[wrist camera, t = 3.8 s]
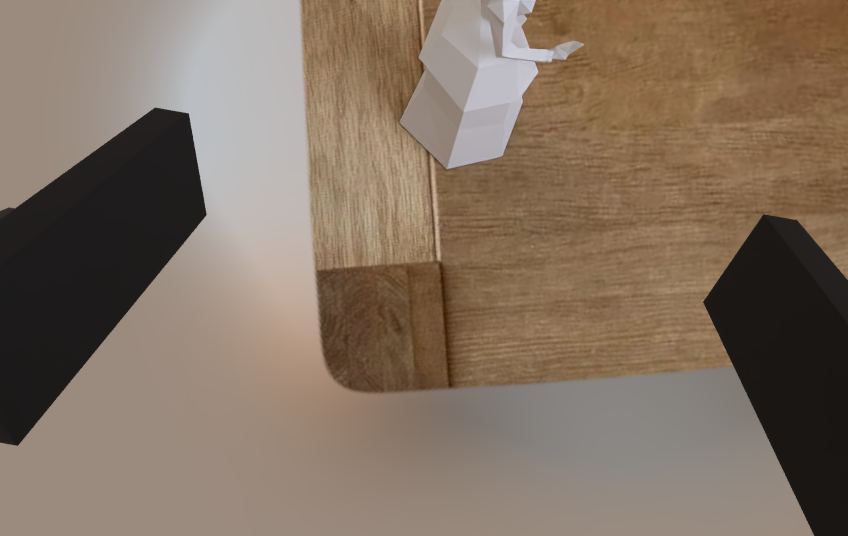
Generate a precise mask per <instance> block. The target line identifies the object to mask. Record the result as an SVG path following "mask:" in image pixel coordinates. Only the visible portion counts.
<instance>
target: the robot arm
mask: <svg viewBox="0 0 848 536" xmlns="http://www.w3.org/2000/svg"><path fill="white" fill-rule="evenodd" d="M205 216H206V209H205V203H204V197H203V192H202V186H201V180H200V175H199V169H198V163H197V158H196V152H195V147H194V141H193V135H192V129H191V124H190V118H189V114H188V113H183V112H177V111H171V110H165V109H160V108H154V109H153V110H151V111H150V112H149V113H147V114H146V115H144V116H143V117H142V118H140V119H139V120H137V121H136V122H135V123H133V124H132V125H130V126H129V127H128V128H126V129H125V130H124V131H122V132H121V133H119V134H118V135H117V136H115V137H114V138H112V139H111V140H110V141H108V142H107V143H105V144H104V145H103V146H101V147H100V148H99V149H97V150H96V151H94V152H93V153H92V154H90V155H89V156H87V157H86V158H85V159H83V160H82V161H80V162H79V163H78V164H76V165H75V166H73V167H72V168H71V169H69V170H68V171H67V172H65V173H64V174H62V175H61V176H60V177H58V178H57V179H55V180H54V181H53V182H52V183H50V184H49V185H47V186H46V187H45V188H43V189H42V190H40V191H39V192H38V193H36V194H35V195H33V196H32V197H30V198H29V199H28V200H26V201H25V202H24V203H22V204H21V205H19V206H18V207H17V208H15V209H14V208H7V209H5V210H2V211H0V443H6V444H12V445H17V446H18V445H19V444H20V442H21V441H22V440H23V439H24V438H25V436H26V435H27V434H28V433H29V431H30V430H31V429H32V428H33V427H34V425H35V424H36V423H37V422H38V420H39V419H40V418H41V417H42V416H43V414H44V413H45V412H46V411H47V409H48V408H49V407H50V406H51V405H52V403H53V402H54V401H55V400H56V398H57V397H58V396H59V395H60V394H61V392H62V391H63V390H64V389H65V387H66V386H67V385H68V384H69V383H70V381H71V380H72V379H73V378H74V376H75V375H76V374H77V373H78V372H79V370H80V369H81V368H82V367H83V365H84V364H85V363H86V362H87V361H88V359H89V358H90V357H91V356H92V354H93V353H94V352H95V351H96V350H97V348H98V347H99V346H100V345H101V343H102V342H103V341H104V340H105V339H106V337H107V336H108V335H109V334H110V332H111V331H112V330H113V329H114V328H115V326H116V325H117V324H118V323H119V321H120V320H121V319H122V318H123V317H124V315H125V314H126V313H127V312H128V310H129V309H130V308H131V307H132V306H133V304H134V303H135V302H136V301H137V299H138V298H139V297H140V296H141V294H142V293H143V292H144V291H145V290H146V288H147V287H148V286H149V285H150V284H151V282H152V281H153V280H154V279H155V277H156V276H157V275H158V274H159V273H160V271H161V270H162V269H163V268H164V266H165V265H166V264H167V263H168V262H169V260H170V259H171V258H172V257H173V255H174V254H175V253H176V252H177V251H178V249H179V248H180V247H181V246H182V244H183V243H184V242H185V241H186V240H187V238H188V237H189V236H190V235H191V233H192V232H193V231H194V230H195V228H196V227H197V226H198V225H199V224H200V222H201V221H202V220H203V219H204V217H205ZM703 303H704V305H705V307H706V309H707V311H708V313H709V315H710V317H711V319H712V322H713V324H714V326H715V328H716V330H717V332H718V334H719V336H720V338H721V341H722V343H723V345H724V347H725V349H726V351H727V353H728V355H729V357H730V359H731V362H732V364H733V366H734V368H735V370H736V372H737V374H738V376H739V378H740V380H741V383H742V385H743V387H744V389H745V391H746V393H747V395H748V397H749V399H750V402H751V404H752V406H753V408H754V410H755V412H756V414H757V416H758V418H759V420H760V423H761V424H762V427H763V429H764V431H765V433H766V435H767V437H768V439H769V441H770V444H771V446H772V448H773V450H774V452H775V454H776V456H777V458H778V460H779V463H780V465H781V467H782V469H783V471H784V473H785V475H786V477H787V479H788V481H789V483H790V486H791V488H792V490H793V492H794V494H795V496H796V498H797V500H798V502H799V505H800V506H801V509H802V511H803V513H804V515H805V517H806V519H807V521H808V524H809V525H810V528H811V530H812V532H813V534H814V536H848V280H847V279H846V278H845V276H844V275H843V274H842V273H841V272H840V270H839V269H838V268H837V267H836V266H835V265H834V263H833V262H832V261H831V260H830V259H829V257H828V256H827V255H826V254H825V253H824V252H823V250H822V249H821V248H820V247H819V246H818V244H817V243H816V242H815V241H814V240H813V239H812V237H811V236H810V235H809V234H808V233H807V231H806V230H805V229H804V228H803V227H802V226H801V224H800V223H799V222H798V221H797V220H792V219H787V218H781V217H775V216H769V215H763V216H762V217H761V219H760V220H759V222H758V223H757V225H756V226H755V228H754V229H753V231H752V232H751V233H750V235H749V236H748V238H747V239H746V241H745V242H744V244H743V245H742V246H741V248H740V249H739V251H738V252H737V254H736V255H735V257H734V258H733V260H732V261H731V262H730V264H729V265H728V267H727V268H726V270H725V271H724V273H723V274H722V275H721V277H720V278H719V280H718V281H717V283H716V284H715V286H714V287H713V289H712V290H711V291H710V293H709V294H708V296H707V297H706V299H705V300H704V302H703Z"/></svg>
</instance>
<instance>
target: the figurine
mask: <svg viewBox="0 0 848 536" xmlns="http://www.w3.org/2000/svg"><path fill="white" fill-rule="evenodd" d="M535 1H536V0H442V1H441V3H440V5H439V8H438V10H437V13H436V15H435V18H434V20H433V23H432V25H431V28H430V30H429V33H428V35H427V38H426V40H425V43H424V45H423V48H422V50H421V53H420V55H419V59H420V60H421V61H422V62H423V63H424V65H425V66H426V68H425V70H424V73H423V75H422V77H421V79H420V81H419V83H418V85H417V87H416V89H415V91H414V93H413V95H412V97H411V99H410V101H409V103H408V105H407V107H406V109H405V112H404V114H403V116H402V118H401V120H400V122H399V123H400V124H401V125H402V126H403V127H404V128H405V129H406V130H407V131H408V132H409V133H410V134H411V135H412V136H413V137H414V138H415V139H416V140H417V141H418V142H419V143H420V144H421V145H423V146H424V147H425V148H426V149H427V150H428V151H429V152H430V153H431V154H432V155H433V156H434V157H435V158H436V159H437V160H438V161H439V162H440V163H441V164H442V165H443V166H444V167H445V168H446V169H450V168H454V167H458V166H463V165H467V164H472V163H476V162H481V161H485V160H489V159H494V158H498V157H502V156H503V153H504V150H505V148H506V145H507V143H508V140H509V137H510V135H511V132H512V129H513V127H514V124H515V122H516V119H517V116H518V114H519V111H520V108H521V106H522V103H523V99H522V95H523V93H524V92H525V90H526V89H527V87H528V86H529V85H530V83H531V82H532V80H533V79H534V77H535V76H536V75H537V73H538V70H537V67H536V64H535V62H545V63H548V62H551V61H552V58H554V59H562V60H566V58H567V56H568V55H569V54H570V53H572V52H574V51H575V50H577V49H578V48H580V47H581V46H583V45H585V44H582V43H580V42H577V41H570V42H567V43H564V44H561V45H557V46H555V47H554V48H552V49H550V50H544V49H530V48H529V46H528V43H527V40H526V38H525V35H524V32H523V30H522V27H521V26H522V24H523V23H524V22H525V21H526V20H527V18H526V17H525V16H524V14H528V13H532V10H533V7H534V4H535Z"/></svg>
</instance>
